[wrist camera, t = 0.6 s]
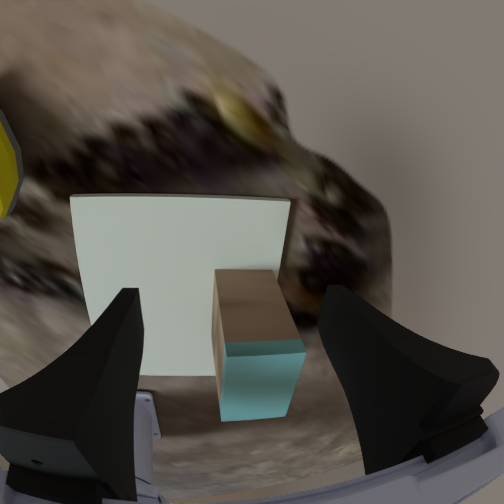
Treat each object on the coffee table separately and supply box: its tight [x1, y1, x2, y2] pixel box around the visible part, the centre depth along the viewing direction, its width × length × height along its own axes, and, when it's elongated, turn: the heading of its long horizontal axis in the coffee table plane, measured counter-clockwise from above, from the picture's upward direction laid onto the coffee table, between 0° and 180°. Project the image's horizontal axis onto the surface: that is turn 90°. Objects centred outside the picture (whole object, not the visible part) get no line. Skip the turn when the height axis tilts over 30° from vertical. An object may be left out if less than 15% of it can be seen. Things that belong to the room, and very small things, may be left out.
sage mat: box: [70, 193, 291, 376], centre depth 23 cm, size 16×14×1 cm
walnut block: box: [211, 269, 306, 421], centre depth 20 cm, size 6×4×8 cm, turn 174°
